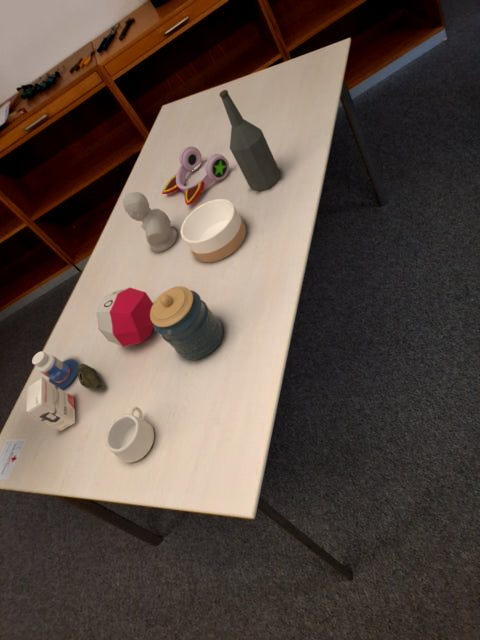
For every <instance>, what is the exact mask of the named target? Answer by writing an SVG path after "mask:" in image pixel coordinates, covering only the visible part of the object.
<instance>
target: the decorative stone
mask: <svg viewBox="0 0 480 640" xmlns="http://www.w3.org/2000/svg"><path fill="white" fill-rule="evenodd" d="M77 373H78V375H77V378H78V381H79V382H80V385H81V386H82V387H84V388H86V389H87V388H88V389H95V390H100V389H103V388H104V383H103V380H102V379H101V377H100V375H99V374H98V372H97V371H96V369H95V368H93V367H91V366H89V365H88V364H85V363H79V365H78V369H77Z"/></svg>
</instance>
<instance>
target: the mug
mask: <svg viewBox="0 0 480 640" xmlns="http://www.w3.org/2000/svg"><path fill="white" fill-rule="evenodd" d="M135 411H137V413H138V417H137V416H135V415H134V414H135ZM154 431H155V430H154V429H153V426H152V425H151V424H150V423H149V422H147V421H146V420H144V419H143V411H142V409H141V408H140V407H138V406H133V407H132V408H131V410H130V412H129V413H126V414H122V415H120V416H118V417H117V418H116V419H115V420H114V421H112V423H111V424H110V425H109V427H108V429H107V431H106V433H105V446H106V447H107V449H108V450H109V451H110V452H111V453H113V454H114V455H115V456H116V457H117V458H118V459H120V460H121V461H123V462H125V463H135V462H137V461H140V460H142V459H143V458H144V457H146V455H148V453H149V451H150V450H151V448H152V446H153V443H154V439H155V432H154Z"/></svg>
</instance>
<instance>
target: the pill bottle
mask: <svg viewBox="0 0 480 640" xmlns="http://www.w3.org/2000/svg"><path fill="white" fill-rule="evenodd" d="M63 362H64V361H61V360H60V359H59V358H57V357H56V356H54V354H51V353H48V354H47V353H46V352H44V351H43V350H41V351H38V352H37V353H35V354H34V356H33V357H32V359H31V363H32V365H34V366H35V367H36V369H37V371H38V372H39V373H41V374H43V375H44V376H45V377H47V378H49V379H52V380H53V381H55V382H56V383H61V382H63V381H65V380H66V379H67V377H68V376H69V374H70V368H69V367H68V366H67V365H66V364H64V363H63Z"/></svg>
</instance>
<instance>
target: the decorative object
mask: <svg viewBox="0 0 480 640" xmlns="http://www.w3.org/2000/svg"><path fill="white" fill-rule="evenodd" d="M153 304H154V302H153V301H152V299H151V298H150V296H149V295H148V294H147V291H142V290H139V289H136V288H133V287H125V288H123V289H119V290H115V291H113V292H111V293H109V294H107V295H105V296H104V297H102V298H101V299H100V303H99V305H98V308H97V311H96V319H97V329H98V331H99V332H100V333H101V334H102V335H103V337H104V338H105V339H106V340H107V341H108V342H110V343H113V344H115V345H117V346H121V347H129V346H133V345H137V344H141V343H142V342H144V341H145V340H147V339H148V338H149V337H150V336H151V335H152V334H153V330H154V327H153V323H152V321H151V319H150V311H151V308H152V306H153Z"/></svg>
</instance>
